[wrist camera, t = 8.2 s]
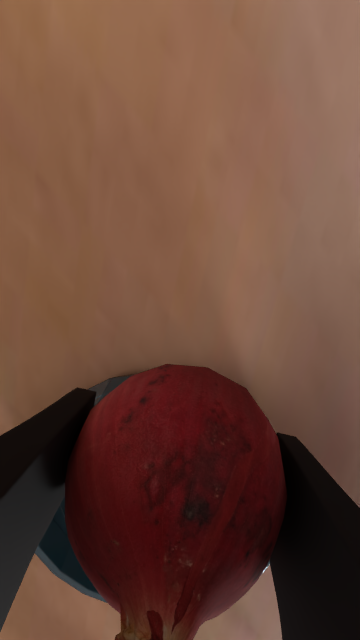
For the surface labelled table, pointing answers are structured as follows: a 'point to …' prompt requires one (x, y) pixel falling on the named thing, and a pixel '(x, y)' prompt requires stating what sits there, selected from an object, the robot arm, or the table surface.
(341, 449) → the table surface
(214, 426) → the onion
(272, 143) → the table surface
